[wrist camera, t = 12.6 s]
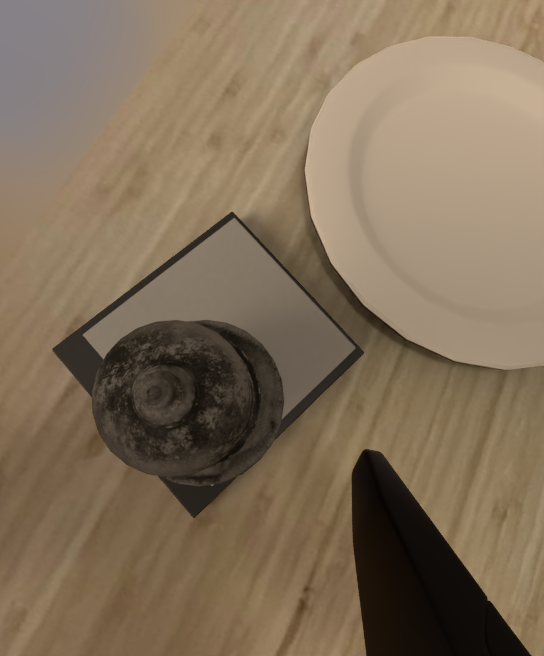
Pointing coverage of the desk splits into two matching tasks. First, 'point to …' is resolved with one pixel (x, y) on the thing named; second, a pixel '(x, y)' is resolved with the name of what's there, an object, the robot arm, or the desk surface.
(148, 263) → the desk surface
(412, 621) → the robot arm
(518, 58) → the plate
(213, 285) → the scale
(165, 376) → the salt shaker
